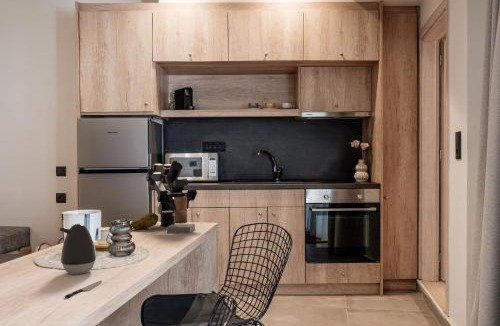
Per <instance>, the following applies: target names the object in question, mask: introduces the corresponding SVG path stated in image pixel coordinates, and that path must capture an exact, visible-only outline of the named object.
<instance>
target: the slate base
mask: <svg viewBox="0 0 500 326" xmlns="http://www.w3.org/2000/svg"><path fill="white" fill-rule="evenodd" d="M195 227H196V225H195V223H175V224H172V225H170V226H166V233H169V234H174V233H175V234H177V233H178V234H179V233H180V234H182V233H183V234H187V233H188V234H191V233H192V232H193V231H195V230H196V229H195Z"/></svg>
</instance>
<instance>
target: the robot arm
mask: <svg viewBox="0 0 500 326" xmlns="http://www.w3.org/2000/svg"><path fill="white" fill-rule="evenodd" d="M183 168H184V166H183V164H181V163H180V162H178V160H172V163H171V164H167V163H166V164H163V163H153V165H152V167H151V168H149V170H148V171H147V173H146V182H147V183H148V185H150V186H152V187H153V188H154V190H155V192H156V194H157V197H156V200H157V202H158V203H159V204H158V207H157V213H158V214H159V215H160V225H159V227H168V226H170V225H172V224H176V223H175V222H174V210H176V207H175V204H174V197H187V210H189V208H190V201H195V200H196V197H197V194H198V191H197V189H196V188H195V189H194V188H189V189H187V191H186V192H184V190H185V188H184V187H187V186H188V185H189V181H188V178H183V179H181V178H180V176H181V174H182V170H183ZM164 177H165V180H166V181H165V184H167V187H168V190H167V189H166V186H164V183H163V180H164ZM179 178H180V179H179ZM158 214H157V215H158Z"/></svg>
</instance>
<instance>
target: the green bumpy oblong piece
mask: <svg viewBox="0 0 500 326" xmlns="http://www.w3.org/2000/svg"><path fill="white" fill-rule="evenodd" d="M158 221H159V216H158V214H156V213H154V212H149V213H148V212H147V213H146V214H143V215H142V216H141V217H139V218H136V219H134V220H132V221H131V223H130V226H131V225H132V227H133V228H132V230H148V229H149V228H150V227H153V226H156V225H157V224H158Z"/></svg>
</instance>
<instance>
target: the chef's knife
mask: <svg viewBox="0 0 500 326" xmlns="http://www.w3.org/2000/svg"><path fill="white" fill-rule="evenodd" d="M102 283H103V281H102V280H98V281H96V282H93V283H91V284H88V285H86V286H84V287H82V288H79V289H76V290H75V291H73V292H70V293H68V294H66V295H64V299H70V298H71V297H73V296H75V295H77V294H80V293H81V292H91V291H92V290H94V289H95V288H97V287H99V286H100V285H101V284H102Z"/></svg>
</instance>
